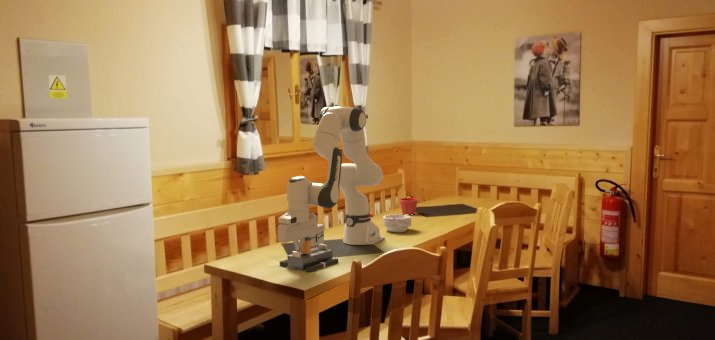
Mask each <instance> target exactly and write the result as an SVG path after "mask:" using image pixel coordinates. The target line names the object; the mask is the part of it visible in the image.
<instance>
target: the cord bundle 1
mask: <svg viewBox="0 0 715 340" xmlns="http://www.w3.org/2000/svg"><path fill="white" fill-rule="evenodd" d="M279 266H280V267H285V268H287V267H288V261H287V258H286V259H284V260H281V261H279Z"/></svg>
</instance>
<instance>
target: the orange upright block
mask: <svg viewBox="0 0 715 340" xmlns="http://www.w3.org/2000/svg"><path fill="white" fill-rule="evenodd" d="M299 252H301V253H304V254H310V253H311V238H308V237H305V241H304V243H303V248H302V249H299Z"/></svg>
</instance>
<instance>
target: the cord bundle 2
mask: <svg viewBox="0 0 715 340" xmlns="http://www.w3.org/2000/svg"><path fill="white" fill-rule="evenodd" d="M338 263H339V258H332V260H329V261H326V262H320V264H317V265H313V266H310V267H307V268H306V270H305V272H306V273H312V272H315V271H317V270H321V269H323V268H326V267H329V266H331V265H335V264H338Z"/></svg>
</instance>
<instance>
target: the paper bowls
mask: <svg viewBox="0 0 715 340" xmlns="http://www.w3.org/2000/svg"><path fill="white" fill-rule="evenodd" d="M411 216H412V215H409V216H408V215H403V214H386V215H383V216H382V226H384V227H386V229H387V231H389V232H391V233H404V232H407V230H409V229H408V228H410V227H412V217H411Z"/></svg>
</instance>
